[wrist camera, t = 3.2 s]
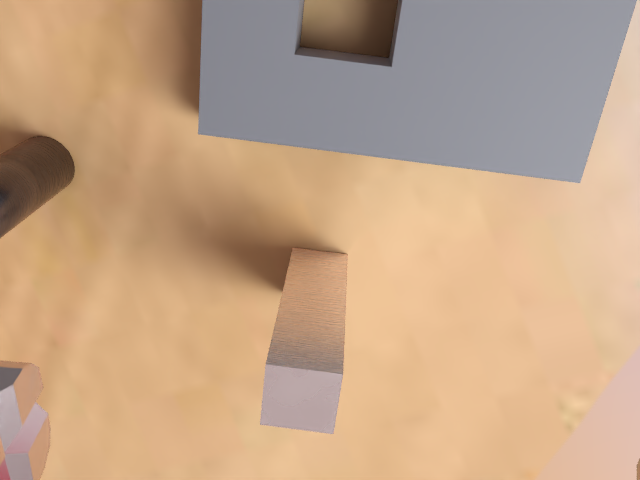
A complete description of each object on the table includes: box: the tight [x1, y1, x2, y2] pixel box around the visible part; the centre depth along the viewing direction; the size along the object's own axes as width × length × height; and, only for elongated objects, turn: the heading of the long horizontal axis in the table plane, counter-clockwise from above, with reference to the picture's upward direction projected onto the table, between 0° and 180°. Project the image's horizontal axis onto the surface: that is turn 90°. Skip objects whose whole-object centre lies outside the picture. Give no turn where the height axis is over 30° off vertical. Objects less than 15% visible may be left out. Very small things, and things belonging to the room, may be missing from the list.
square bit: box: [260, 247, 348, 434], centre depth 33 cm, size 3×3×12 cm
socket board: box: [198, 0, 637, 183], centre depth 30 cm, size 20×14×3 cm
